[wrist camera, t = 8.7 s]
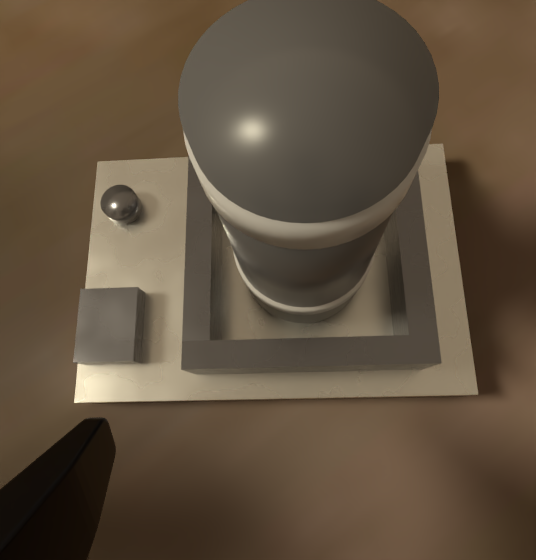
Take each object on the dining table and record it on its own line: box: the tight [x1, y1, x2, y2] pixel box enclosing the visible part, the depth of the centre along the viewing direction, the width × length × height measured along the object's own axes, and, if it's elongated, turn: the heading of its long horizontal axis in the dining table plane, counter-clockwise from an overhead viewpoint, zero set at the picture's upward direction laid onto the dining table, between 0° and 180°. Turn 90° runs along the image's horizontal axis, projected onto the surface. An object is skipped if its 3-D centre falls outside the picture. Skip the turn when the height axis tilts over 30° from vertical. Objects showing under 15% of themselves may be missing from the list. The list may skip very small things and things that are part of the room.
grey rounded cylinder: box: [178, 0, 439, 323], centre depth 14 cm, size 5×5×11 cm
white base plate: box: [73, 144, 478, 403], centre depth 19 cm, size 11×16×4 cm
